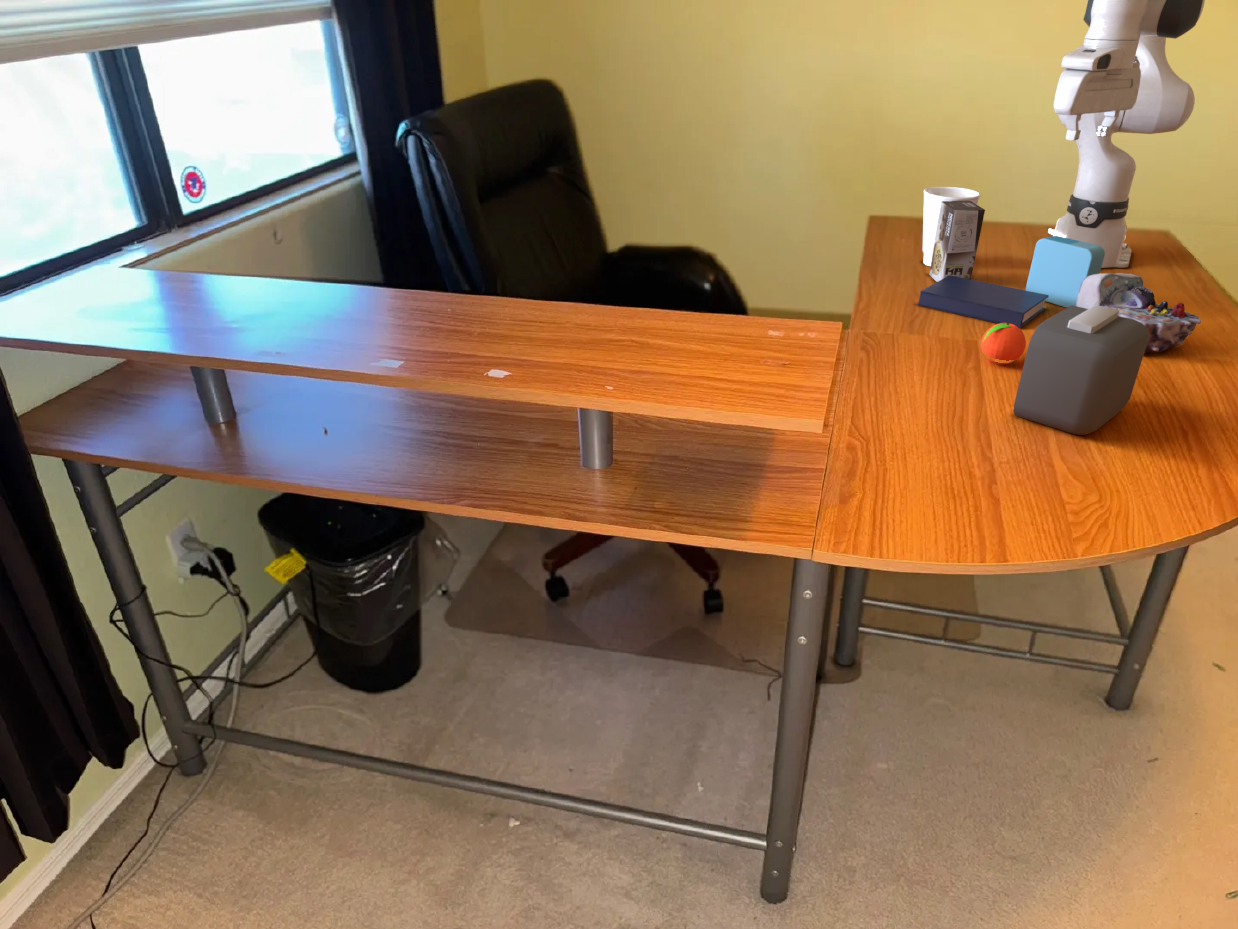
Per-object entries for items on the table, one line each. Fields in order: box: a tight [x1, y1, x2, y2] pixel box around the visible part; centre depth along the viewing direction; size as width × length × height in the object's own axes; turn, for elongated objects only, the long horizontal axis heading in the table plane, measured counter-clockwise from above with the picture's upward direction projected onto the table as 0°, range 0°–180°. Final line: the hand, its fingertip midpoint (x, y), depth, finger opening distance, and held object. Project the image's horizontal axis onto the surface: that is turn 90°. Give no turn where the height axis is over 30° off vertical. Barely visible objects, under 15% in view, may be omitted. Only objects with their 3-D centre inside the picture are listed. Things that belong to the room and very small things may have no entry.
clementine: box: [980, 323, 1027, 366], centre depth 147 cm, size 8×7×7 cm
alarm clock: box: [1013, 305, 1148, 436], centre depth 128 cm, size 16×11×16 cm
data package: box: [1025, 235, 1105, 309], centre depth 175 cm, size 12×4×12 cm, turn 33°
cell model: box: [1076, 272, 1202, 354], centre depth 157 cm, size 13×11×20 cm
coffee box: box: [929, 201, 986, 283], centre depth 186 cm, size 9×6×16 cm
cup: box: [922, 186, 981, 267], centre depth 197 cm, size 12×12×16 cm
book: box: [917, 275, 1049, 329], centre depth 174 cm, size 14×20×3 cm
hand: (1087, 138), depth 165 cm, fingers open, 8 cm apart
